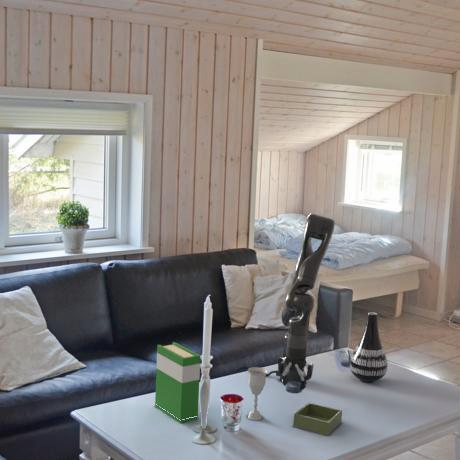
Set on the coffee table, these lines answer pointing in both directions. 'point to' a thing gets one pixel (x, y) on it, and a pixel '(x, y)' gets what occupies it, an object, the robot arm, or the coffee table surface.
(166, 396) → the hardback book
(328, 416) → the tub
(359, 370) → the vase
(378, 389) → the coffee table surface
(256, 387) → the chalice
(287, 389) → the blue round puck
